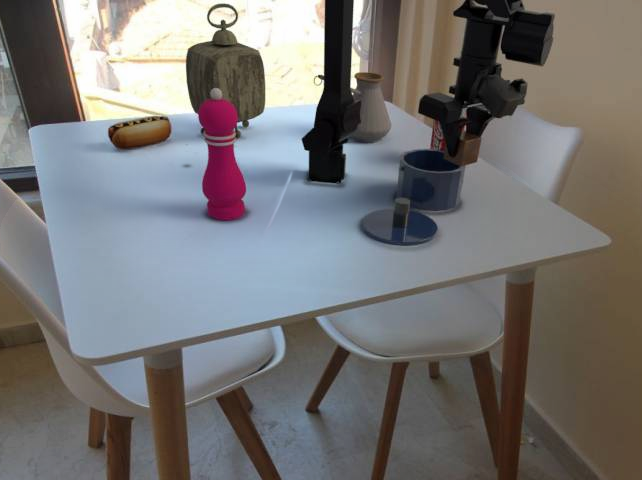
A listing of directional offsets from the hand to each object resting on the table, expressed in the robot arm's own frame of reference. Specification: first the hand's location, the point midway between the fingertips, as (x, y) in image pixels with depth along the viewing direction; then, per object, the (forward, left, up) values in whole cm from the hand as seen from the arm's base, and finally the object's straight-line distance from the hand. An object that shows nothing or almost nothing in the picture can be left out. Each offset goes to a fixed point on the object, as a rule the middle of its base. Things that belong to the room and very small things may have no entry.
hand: (460, 154), depth 105 cm
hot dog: (-63, +20, -11) cm, 67 cm away
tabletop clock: (-47, +31, -11) cm, 57 cm away
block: (0, 0, -1) cm, 1 cm away
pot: (-4, +5, -11) cm, 12 cm away
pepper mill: (-39, -8, -11) cm, 42 cm away
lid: (-9, -9, -10) cm, 17 cm away
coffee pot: (-21, +34, -11) cm, 41 cm away
